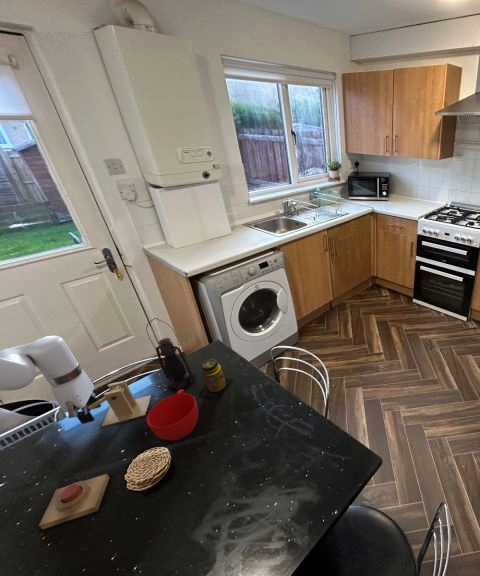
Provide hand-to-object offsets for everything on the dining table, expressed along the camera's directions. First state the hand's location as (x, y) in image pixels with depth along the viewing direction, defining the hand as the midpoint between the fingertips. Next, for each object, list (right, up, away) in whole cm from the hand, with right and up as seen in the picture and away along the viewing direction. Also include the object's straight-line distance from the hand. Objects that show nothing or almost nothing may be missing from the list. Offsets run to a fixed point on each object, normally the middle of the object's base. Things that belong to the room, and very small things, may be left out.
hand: (91, 414), depth 101 cm
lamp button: (+16, -12, -22) cm, 29 cm away
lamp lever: (+5, +4, 0) cm, 7 cm away
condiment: (+33, +4, +14) cm, 36 cm away
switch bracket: (+8, -1, +5) cm, 10 cm away
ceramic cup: (+30, -4, 0) cm, 30 cm away
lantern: (+19, +5, +16) cm, 26 cm away
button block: (+16, -15, -20) cm, 30 cm away
